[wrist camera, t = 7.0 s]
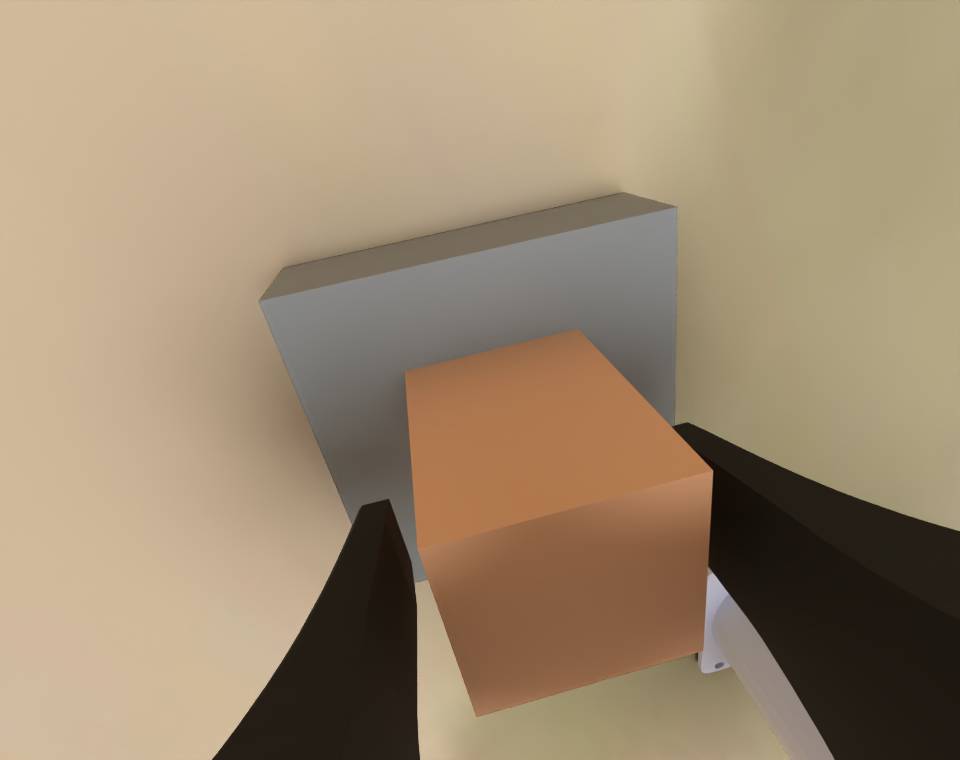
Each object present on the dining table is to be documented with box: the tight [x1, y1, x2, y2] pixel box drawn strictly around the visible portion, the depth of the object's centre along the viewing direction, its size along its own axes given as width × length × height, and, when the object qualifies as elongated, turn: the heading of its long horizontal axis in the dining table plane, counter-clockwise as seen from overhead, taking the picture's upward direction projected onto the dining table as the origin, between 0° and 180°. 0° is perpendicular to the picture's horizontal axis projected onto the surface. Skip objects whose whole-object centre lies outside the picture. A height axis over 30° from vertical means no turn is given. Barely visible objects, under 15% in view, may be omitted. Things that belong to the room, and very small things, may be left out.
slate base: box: [258, 193, 677, 583], centre depth 15 cm, size 10×10×3 cm
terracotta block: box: [405, 329, 713, 717], centre depth 11 cm, size 5×5×6 cm
